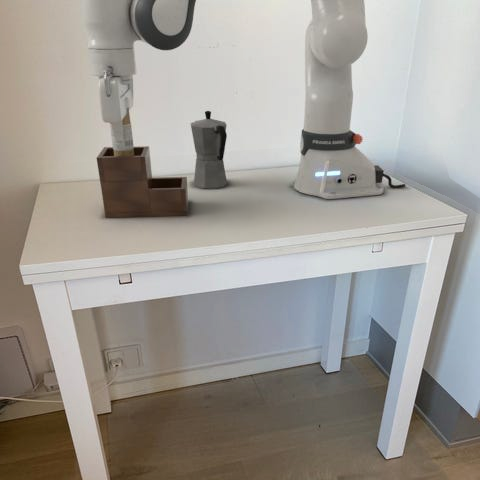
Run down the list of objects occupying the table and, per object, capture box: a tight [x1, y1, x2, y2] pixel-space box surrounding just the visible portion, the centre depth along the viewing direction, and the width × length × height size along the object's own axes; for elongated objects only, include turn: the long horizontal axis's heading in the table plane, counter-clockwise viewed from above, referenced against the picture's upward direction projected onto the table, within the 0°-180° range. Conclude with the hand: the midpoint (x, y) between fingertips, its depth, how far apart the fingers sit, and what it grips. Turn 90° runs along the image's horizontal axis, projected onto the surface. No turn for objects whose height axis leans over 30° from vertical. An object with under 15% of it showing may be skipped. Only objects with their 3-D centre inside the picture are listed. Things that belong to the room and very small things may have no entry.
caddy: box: [96, 145, 189, 219], centre depth 111 cm, size 18×10×13 cm, turn 94°
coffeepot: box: [190, 110, 228, 190], centre depth 125 cm, size 15×9×18 cm, turn 29°
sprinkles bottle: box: [109, 97, 135, 156], centre depth 105 cm, size 5×5×14 cm
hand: (122, 137), depth 105 cm, fingers closed on sprinkles bottle, 4 cm apart
